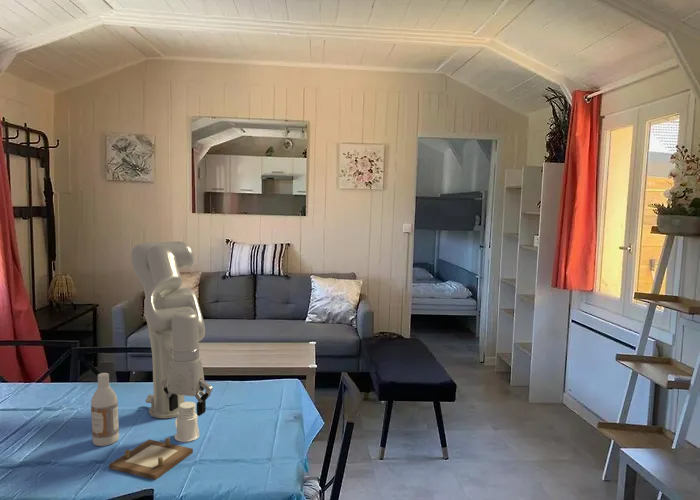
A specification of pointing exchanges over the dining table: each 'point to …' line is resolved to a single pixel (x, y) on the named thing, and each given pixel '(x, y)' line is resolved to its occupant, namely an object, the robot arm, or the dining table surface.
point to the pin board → (151, 459)
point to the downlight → (187, 422)
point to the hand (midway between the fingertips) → (187, 411)
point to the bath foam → (104, 413)
